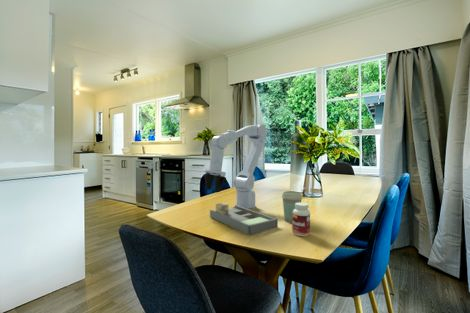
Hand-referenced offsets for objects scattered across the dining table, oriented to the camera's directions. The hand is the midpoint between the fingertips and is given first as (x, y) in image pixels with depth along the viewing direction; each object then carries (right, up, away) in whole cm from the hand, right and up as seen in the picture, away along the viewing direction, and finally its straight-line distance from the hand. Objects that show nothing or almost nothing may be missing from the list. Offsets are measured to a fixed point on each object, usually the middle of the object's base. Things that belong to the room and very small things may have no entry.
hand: (212, 190), depth 113 cm
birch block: (+5, -9, -5) cm, 11 cm away
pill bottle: (+34, -13, -24) cm, 44 cm away
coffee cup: (+34, -12, -9) cm, 37 cm away
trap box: (+13, -12, -10) cm, 20 cm away
